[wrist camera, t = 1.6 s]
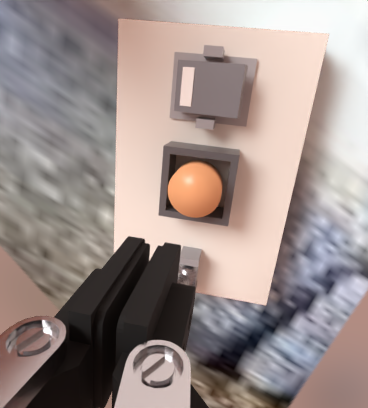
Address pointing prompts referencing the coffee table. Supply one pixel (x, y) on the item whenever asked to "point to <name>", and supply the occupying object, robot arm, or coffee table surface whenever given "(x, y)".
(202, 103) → the rocker switch
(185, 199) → the push button
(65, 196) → the coffee table surface
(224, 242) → the switch board
